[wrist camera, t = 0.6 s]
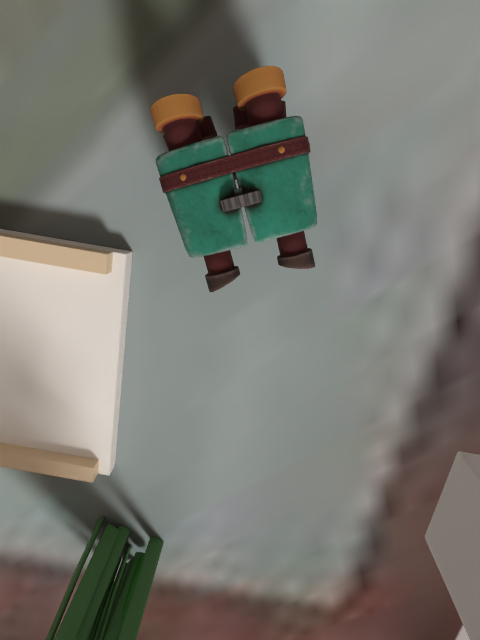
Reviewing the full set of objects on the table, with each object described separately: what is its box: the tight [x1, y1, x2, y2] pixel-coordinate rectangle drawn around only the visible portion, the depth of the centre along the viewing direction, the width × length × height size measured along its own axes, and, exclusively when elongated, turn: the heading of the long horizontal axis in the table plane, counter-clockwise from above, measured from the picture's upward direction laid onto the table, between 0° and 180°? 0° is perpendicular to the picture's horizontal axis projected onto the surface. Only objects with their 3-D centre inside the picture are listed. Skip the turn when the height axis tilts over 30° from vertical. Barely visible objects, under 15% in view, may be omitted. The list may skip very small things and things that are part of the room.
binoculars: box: [150, 66, 317, 292], centre depth 26 cm, size 9×11×10 cm
